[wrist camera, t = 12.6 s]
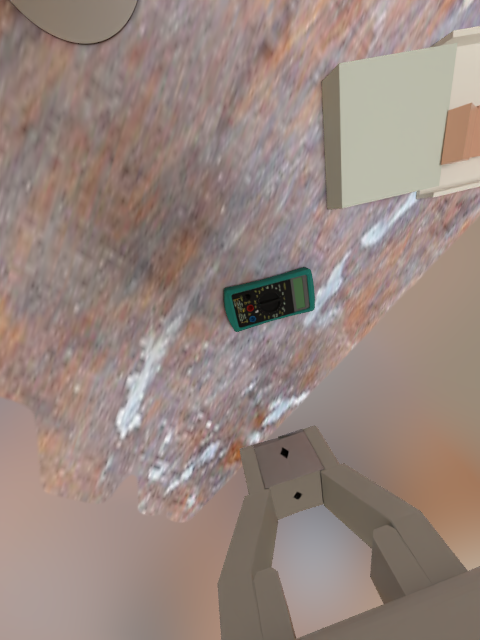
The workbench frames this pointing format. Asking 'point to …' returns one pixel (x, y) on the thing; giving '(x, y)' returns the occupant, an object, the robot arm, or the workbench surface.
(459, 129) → the tile
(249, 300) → the digital multimeter
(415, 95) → the board
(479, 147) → the tile
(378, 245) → the workbench surface
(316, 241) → the workbench surface
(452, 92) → the tray
